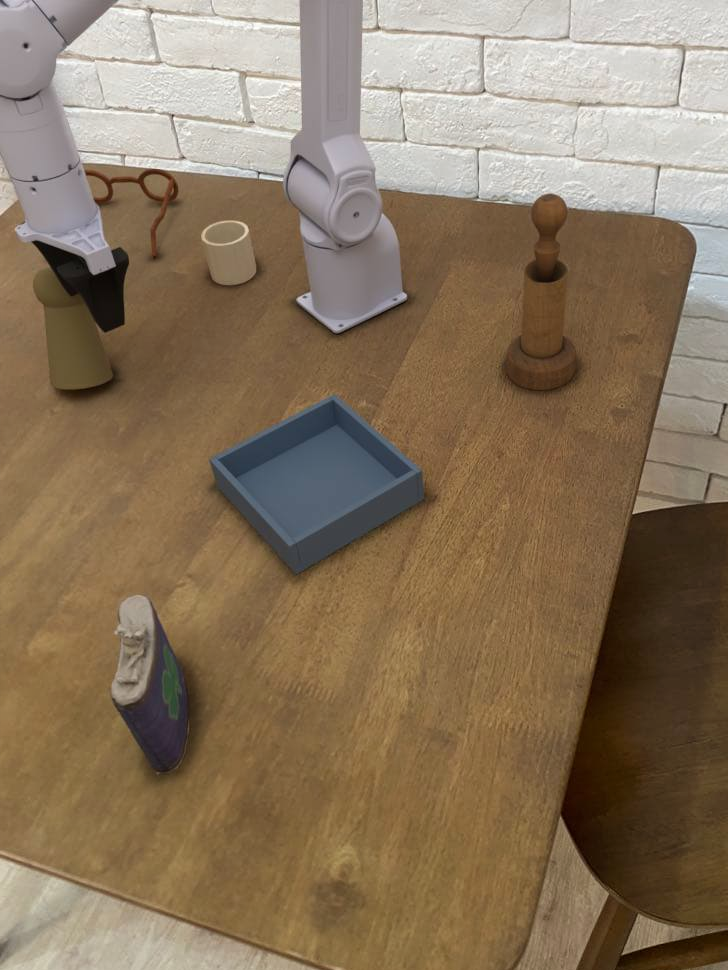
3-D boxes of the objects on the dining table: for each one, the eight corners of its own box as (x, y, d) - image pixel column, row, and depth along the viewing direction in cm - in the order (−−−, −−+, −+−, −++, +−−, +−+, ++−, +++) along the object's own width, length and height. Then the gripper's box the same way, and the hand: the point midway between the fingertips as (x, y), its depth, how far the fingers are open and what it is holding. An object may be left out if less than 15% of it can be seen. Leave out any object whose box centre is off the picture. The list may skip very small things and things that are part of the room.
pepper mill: (93, 390, 90) (70, 274, 85) (38, 388, 92) (11, 274, 87) (124, 370, 96) (103, 260, 90) (70, 368, 97) (47, 260, 92)
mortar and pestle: (529, 399, 89) (537, 226, 75) (493, 363, 93) (495, 192, 79) (587, 375, 90) (605, 202, 77) (550, 341, 94) (561, 170, 81)
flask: (151, 667, 71) (109, 578, 63) (190, 661, 71) (153, 572, 63) (146, 778, 65) (99, 694, 57) (189, 771, 65) (147, 687, 57)
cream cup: (242, 254, 109) (233, 215, 105) (265, 273, 106) (257, 233, 102) (203, 271, 107) (192, 232, 104) (225, 290, 104) (215, 250, 101)
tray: (339, 422, 88) (334, 393, 86) (424, 499, 81) (422, 469, 78) (217, 487, 84) (208, 458, 81) (296, 574, 76) (289, 546, 74)
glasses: (183, 202, 118) (173, 164, 115) (156, 259, 110) (145, 220, 106) (84, 204, 120) (71, 166, 116) (49, 260, 111) (34, 221, 107)
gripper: (-34, 150, 78) (25, 291, 88) (30, 216, 70) (87, 363, 80) (45, 123, 80) (94, 263, 90) (117, 184, 72) (161, 331, 82)
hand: (96, 308), depth 85 cm, fingers open, 7 cm apart
